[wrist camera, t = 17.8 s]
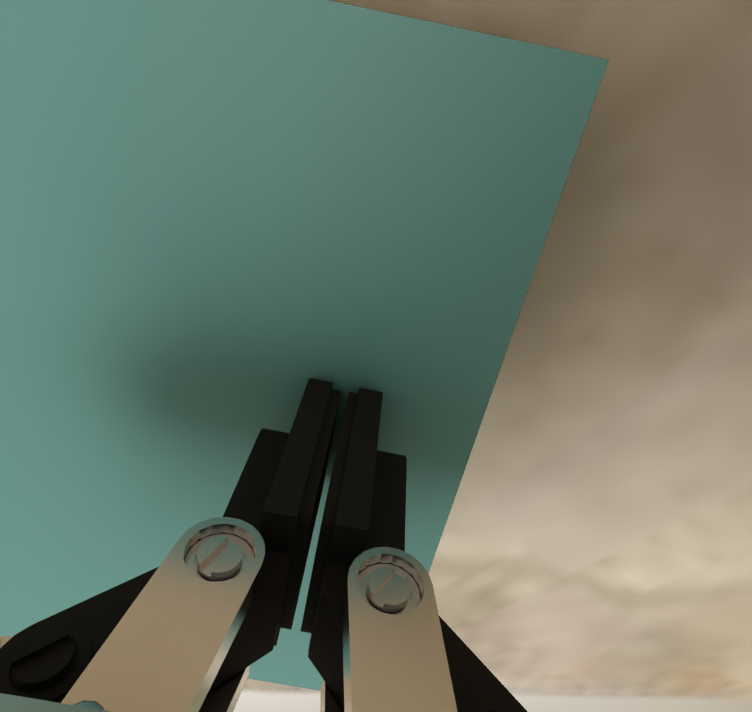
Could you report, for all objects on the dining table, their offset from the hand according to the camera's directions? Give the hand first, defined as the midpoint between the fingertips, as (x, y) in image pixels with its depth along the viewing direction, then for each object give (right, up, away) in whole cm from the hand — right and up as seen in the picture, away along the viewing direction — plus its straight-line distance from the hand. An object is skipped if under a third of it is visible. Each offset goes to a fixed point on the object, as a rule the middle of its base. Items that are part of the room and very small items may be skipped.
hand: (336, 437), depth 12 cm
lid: (-5, 0, +1) cm, 5 cm away
